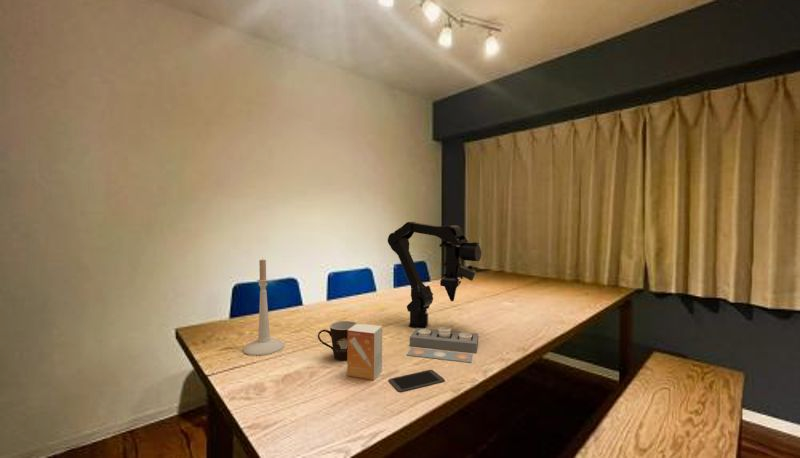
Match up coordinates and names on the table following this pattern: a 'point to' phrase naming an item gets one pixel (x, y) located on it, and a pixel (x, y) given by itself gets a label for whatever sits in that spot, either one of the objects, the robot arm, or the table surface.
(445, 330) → the middle button
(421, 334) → the left button
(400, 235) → the robot arm
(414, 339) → the button panel
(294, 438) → the table surface
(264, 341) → the candlestick
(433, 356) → the pattern card
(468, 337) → the right button
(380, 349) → the small box
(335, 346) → the coffee mug
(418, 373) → the cell phone
